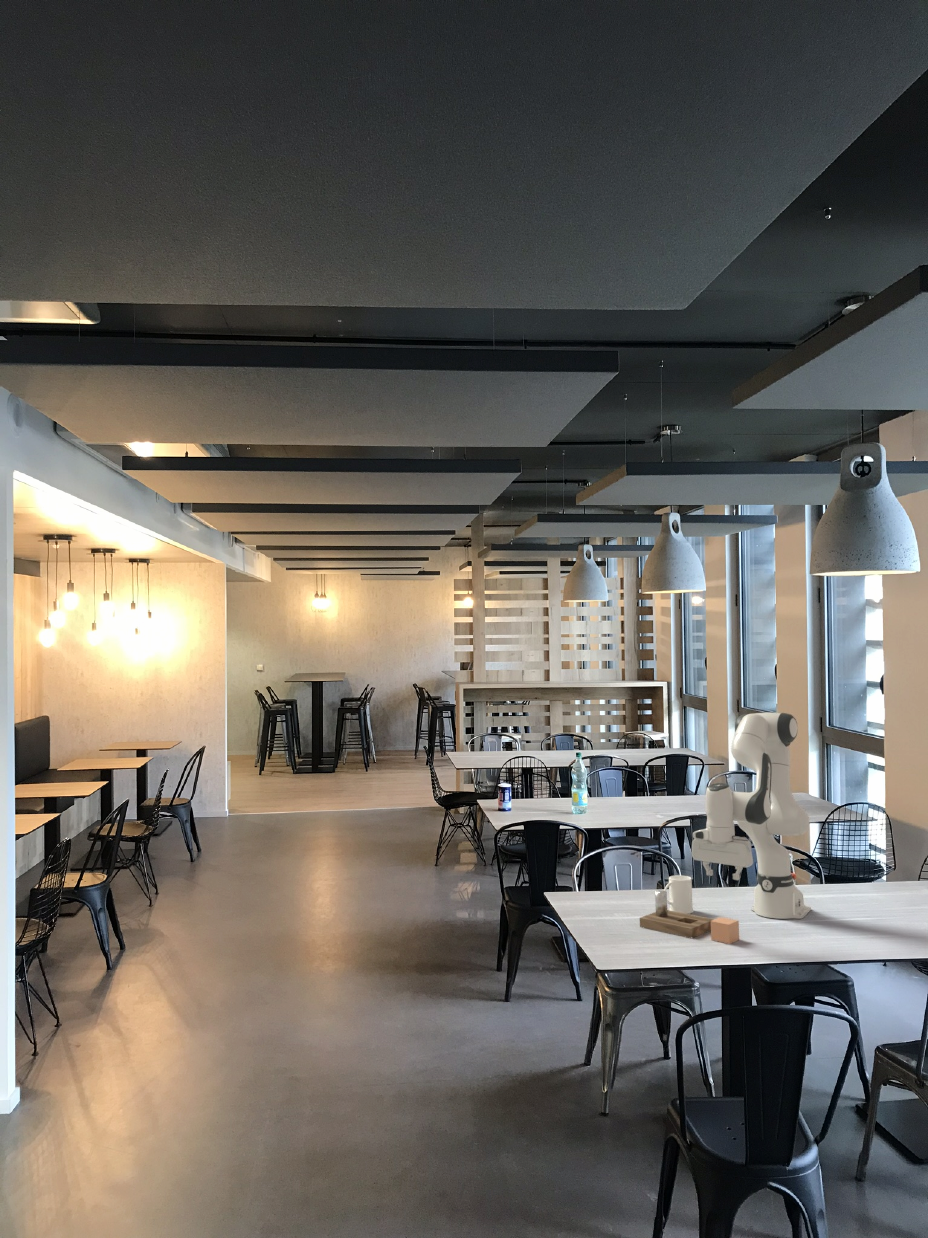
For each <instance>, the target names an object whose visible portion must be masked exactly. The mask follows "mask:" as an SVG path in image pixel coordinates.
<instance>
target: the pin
mask: <svg viewBox="0 0 928 1238" xmlns="http://www.w3.org/2000/svg"><path fill="white" fill-rule="evenodd" d="M654 899H655V900H654V901H655V903H654V904H655V912H656V916H658V917H667V916H668V911H667V910H668V903H667V901H668V892H667V890H666V891H664V890H661V889H660V890H656V891H654Z"/></svg>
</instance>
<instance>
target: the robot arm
mask: <svg viewBox="0 0 928 1238" xmlns="http://www.w3.org/2000/svg"><path fill="white" fill-rule="evenodd" d="M798 728H799V727H798V722H797V719H796V718H795V716H794V715H792V714H790V713H787V712H786V713H785V712H781V713H779V712H769V711H768V712H766V711H765V712H756V713H743V714H740V715H739V716H738V717H737V718H736V720H735V722H734V731H735V733H734V735H733V738H732V742H731V746H730V747H731V748H730V749H731V750H730V751H731V754H732V757H733V758H734V760H735V761H736V762H737V763H738V764H740V765H741V766H743V767H745V768H747V769H750V770H752V771H753V772H756V777H755V790H753V791H751V792H746V791H745V792H744V791H734V790H732V788H731V786H730V785H729V784H728V783H724V782H716V783H711V784H709V785H708V786H707V787H706V791H705V798H704V799H705V803H704V804H705V805H704V806H705V809H704V810H705V814H706V818H707V819H706V825H705V827H704V828H702V829H699V830H695V831H694V832H692V837H693V840H692V842H691V855H692V856H691V857H692V859H693V860H694V861H699V862H702V866H703V867H704V869H705V871H706V872H705V873H706V876H708V877H709V876H710V877H711V876H714V870H713V869H712V868H711V866H710V863H714V864H721V865H726V866H734V867H735V868H734V869H735V870H736V871H735V873H732V880H734V881H739V880H740V878H741V876H740V874H741V873H742V870H743V868H749V867H751V866H752V865H753V864H754V859H753V854H752V853H753V852H752V844H753V846H754V849H755V852H756V860H757V873H756V880H757V881H756V882H757V885H756V886H755V887H754V897H753V899H754V900H753V901H754V902H753V905H752V906H751V907H750V910H751V911H754V913H755V915H758V916H761V917H764V918H770V919H778V920H779V919H780V920H782V919H783V920H784V919H785V920H786V919H787V920H788V919H799V920H800V919H804V918H805V917H806V916H807V914H808V913H810V912H811V911H812V907H811V906H809V905H807V904H805V902H804V894H803V892H802V891H801V890H800V889H798V888H797V887H796V885H795V882H794V880H796V878H797V873H794V872H793V873H792V871H791V855H790V852H789V850H787V848H786V847H785V846H783V845H781V844H780V843H778V841H777V840H776V839H775V836H782V837H783V836H785V837H794V836H795V837H797V836H803V835H804V834H805V833H806V832H807V831H808V830H809V825H810V819H809V818H810V817H809V814H808V812H807V811H806V810H805V809H804V808H803V807H802V806H801V805H800V804H799V802H797V800H796V799H795V798H794V795H793V792H792V790H791V789H792V787H791V771H790V770H791V754H790V747H789V746H790V745H791V743H793V742H794V740H795V739H796V738H797V736H798V730H799V729H798ZM734 821H735V822H736V823H737V826H738V827H739V828H740V829H741V830H742V831H743V832H745V833H746V835H747V836H748V837H749V839H750V840H751V841H750V840H749V839H748V838H747V837H745V836H737V835H735V834H736V831H735V822H734ZM774 835H775V836H774ZM751 842H752V843H751Z"/></svg>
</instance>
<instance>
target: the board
mask: <svg viewBox="0 0 928 1238" xmlns="http://www.w3.org/2000/svg"><path fill="white" fill-rule="evenodd" d="M667 911H668V916H667V917H658V916H656V911H655V912H652V913H649V914H646V915H644V916H640V917H639V927H640V928H643V927H644V928H643V929H648V928H649V930H654V931H658V932H662V931H663V932H662V933H667V934H671V933H672V934H671V935H675V934H677V935H676V936H680V935H681V936H680V937H684V936H686V938H689V937H693V938H695V936H696V937H698V936H700V935H702V933H703V934H705V933H708V932H709V931H710V932H711V921H712V920H714V919H715V918H710V917H705V916H699V915H695V914H691V913H690V914H685V913H680V912H675V911H670V910H669V909H667ZM707 931H708V932H707ZM699 934H700V935H699Z"/></svg>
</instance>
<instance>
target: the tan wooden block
mask: <svg viewBox="0 0 928 1238" xmlns="http://www.w3.org/2000/svg"><path fill="white" fill-rule="evenodd" d="M713 919H714V920H712V921H711V930H710V939H711V941H713V940H717V941H716V942H718V941H719V943H723V942H724V943H723V944H726V945H727V944H729V945H731V944H733V943H735V942H738V941H739V940H740V925H739V924H740V920H737V919H731V918H728V917H723V916H720V917H719V916H718V917H717V918H713ZM732 942H733V943H732Z"/></svg>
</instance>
